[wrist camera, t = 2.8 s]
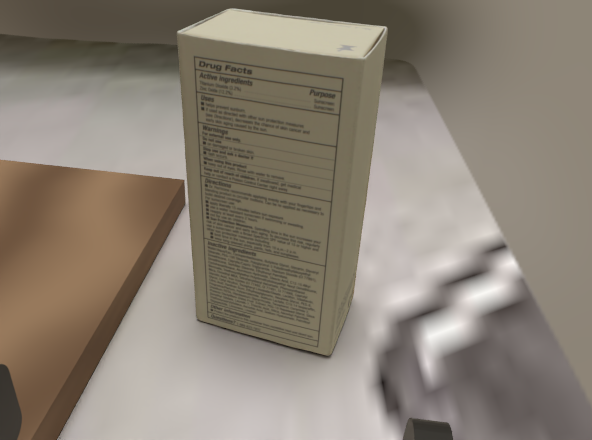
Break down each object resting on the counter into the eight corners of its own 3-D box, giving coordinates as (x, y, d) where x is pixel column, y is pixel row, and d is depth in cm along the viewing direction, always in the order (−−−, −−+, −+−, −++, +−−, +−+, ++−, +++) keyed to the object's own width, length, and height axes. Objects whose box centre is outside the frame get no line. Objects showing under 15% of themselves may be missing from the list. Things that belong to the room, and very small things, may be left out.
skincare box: (354, 296, 26) (397, 27, 19) (329, 363, 22) (372, 58, 16) (229, 264, 27) (231, 3, 21) (186, 322, 23) (172, 27, 17)
